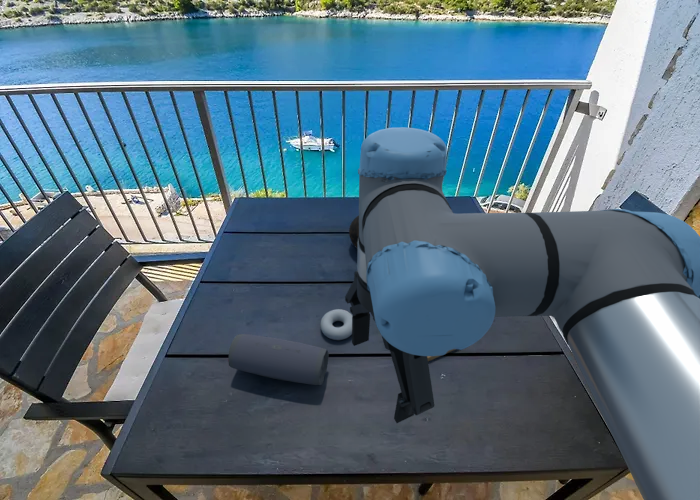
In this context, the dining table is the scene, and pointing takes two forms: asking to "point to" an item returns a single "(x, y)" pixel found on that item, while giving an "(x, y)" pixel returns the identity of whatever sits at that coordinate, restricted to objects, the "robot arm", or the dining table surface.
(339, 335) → the donut
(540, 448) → the dining table surface
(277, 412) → the dining table surface
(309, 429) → the dining table surface
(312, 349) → the bluetooth speaker
